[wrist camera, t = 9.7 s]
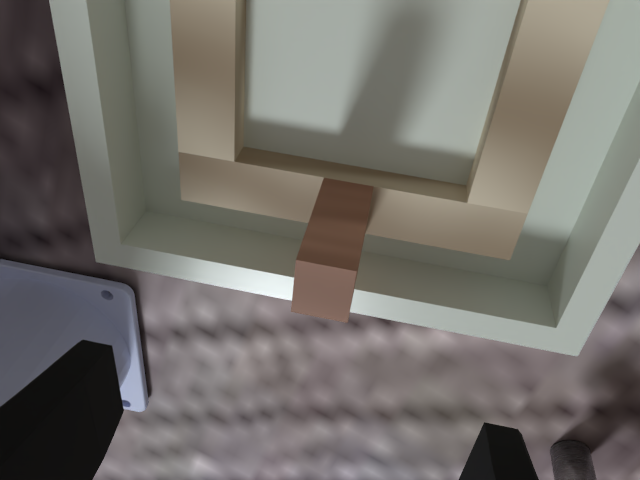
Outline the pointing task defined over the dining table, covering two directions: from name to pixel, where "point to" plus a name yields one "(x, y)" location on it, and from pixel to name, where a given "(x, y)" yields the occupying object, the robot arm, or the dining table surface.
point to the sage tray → (363, 154)
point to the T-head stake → (572, 461)
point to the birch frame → (369, 184)
